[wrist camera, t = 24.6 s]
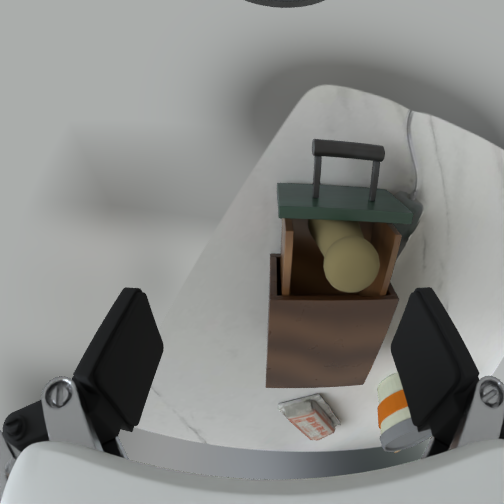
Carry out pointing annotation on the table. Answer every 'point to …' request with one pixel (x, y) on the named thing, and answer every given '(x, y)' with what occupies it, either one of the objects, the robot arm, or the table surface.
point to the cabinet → (323, 336)
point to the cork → (345, 254)
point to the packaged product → (310, 416)
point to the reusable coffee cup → (396, 417)
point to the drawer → (337, 208)
